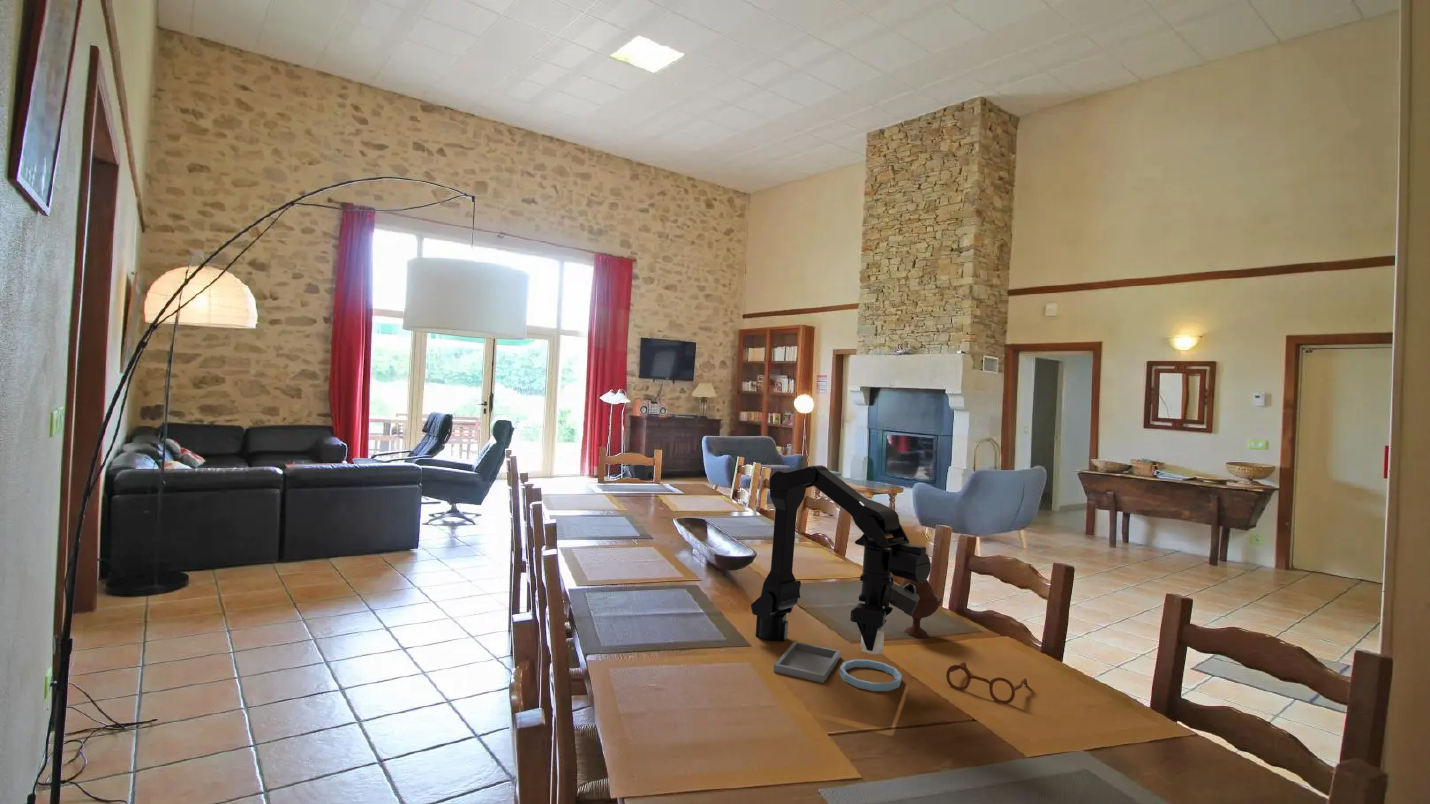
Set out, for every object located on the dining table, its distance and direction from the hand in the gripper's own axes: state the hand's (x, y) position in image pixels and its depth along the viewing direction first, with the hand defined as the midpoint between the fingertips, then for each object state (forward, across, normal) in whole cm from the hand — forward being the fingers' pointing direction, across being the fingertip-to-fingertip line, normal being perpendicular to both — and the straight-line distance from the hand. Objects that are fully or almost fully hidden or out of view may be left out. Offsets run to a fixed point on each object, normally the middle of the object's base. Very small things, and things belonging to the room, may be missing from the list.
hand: (871, 646), depth 139 cm
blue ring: (+7, 0, 0) cm, 7 cm away
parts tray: (+7, 0, +13) cm, 15 cm away
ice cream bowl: (+7, +35, -5) cm, 36 cm away
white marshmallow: (+1, 0, 0) cm, 1 cm away
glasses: (+8, +11, -22) cm, 26 cm away
